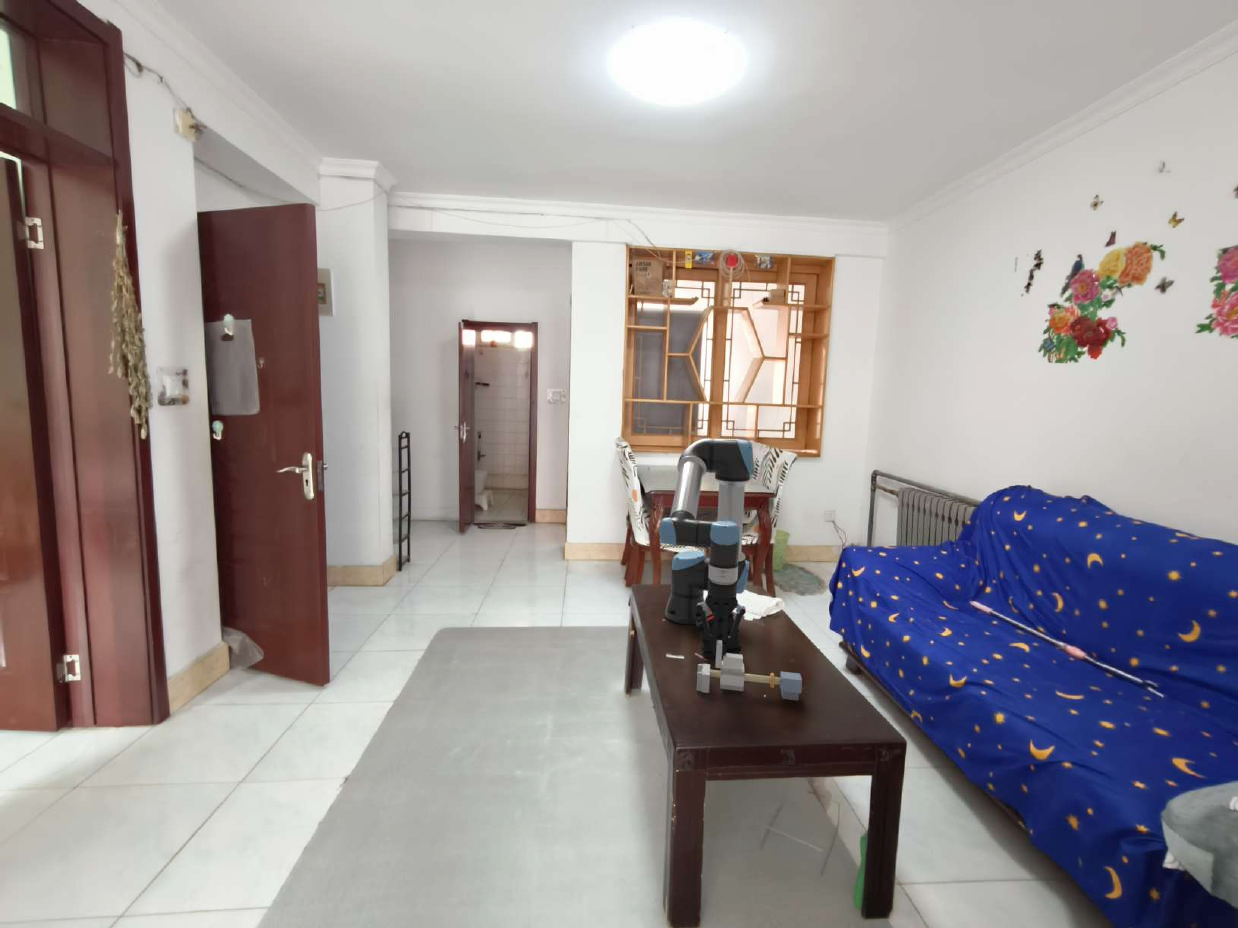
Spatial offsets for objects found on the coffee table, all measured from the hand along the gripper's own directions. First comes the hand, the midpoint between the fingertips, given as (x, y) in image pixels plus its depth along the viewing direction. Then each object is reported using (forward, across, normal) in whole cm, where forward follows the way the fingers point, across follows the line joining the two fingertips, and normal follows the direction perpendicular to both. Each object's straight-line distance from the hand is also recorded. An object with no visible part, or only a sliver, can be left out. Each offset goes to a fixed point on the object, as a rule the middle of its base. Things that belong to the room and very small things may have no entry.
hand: (718, 665), depth 145 cm
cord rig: (+6, +8, 0) cm, 10 cm away
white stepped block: (+5, +4, 0) cm, 6 cm away
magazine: (+7, 0, +19) cm, 20 cm away
